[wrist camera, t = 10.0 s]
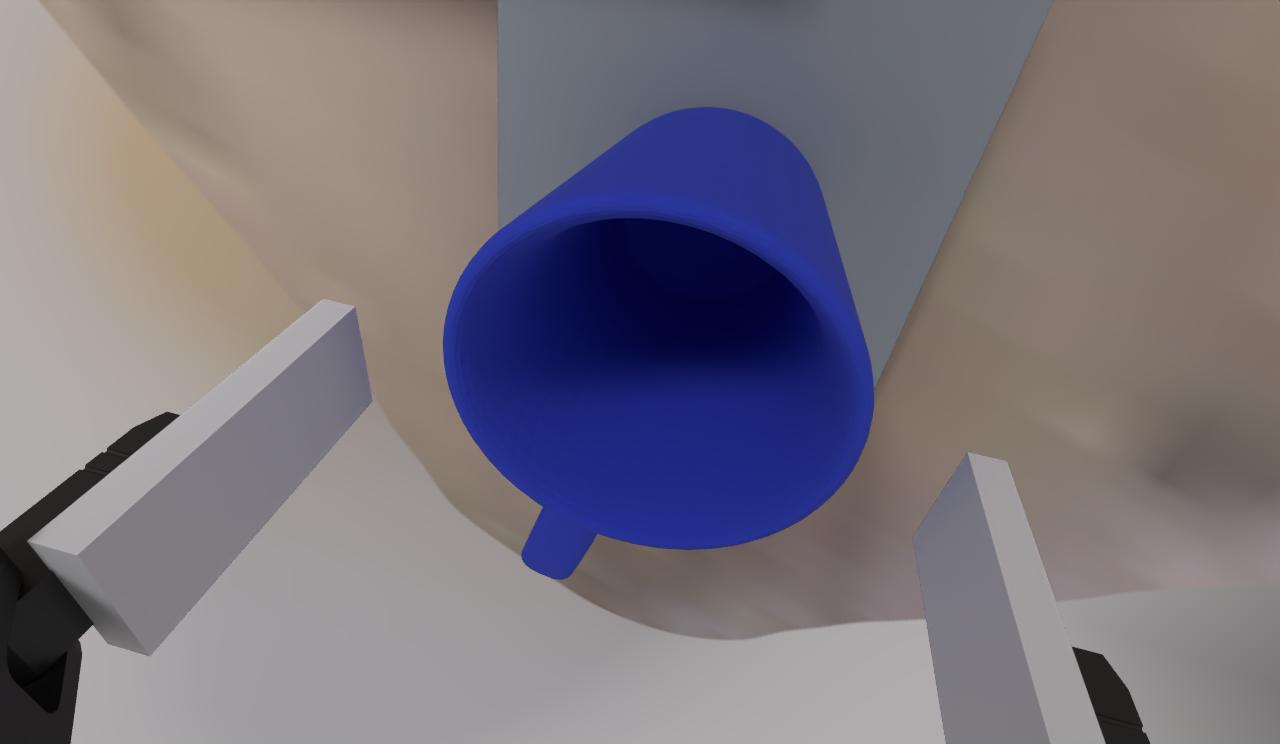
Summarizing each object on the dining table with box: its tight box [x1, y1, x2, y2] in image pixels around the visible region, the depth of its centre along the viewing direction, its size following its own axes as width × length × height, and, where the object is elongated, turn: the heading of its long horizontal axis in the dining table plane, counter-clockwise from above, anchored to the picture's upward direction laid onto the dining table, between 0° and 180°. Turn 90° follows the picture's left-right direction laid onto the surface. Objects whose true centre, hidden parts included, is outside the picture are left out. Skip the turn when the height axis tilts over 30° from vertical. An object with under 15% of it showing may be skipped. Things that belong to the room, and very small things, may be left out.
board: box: [498, 0, 1053, 389], centre depth 21 cm, size 18×14×1 cm
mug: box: [443, 107, 874, 580], centre depth 17 cm, size 8×12×10 cm
